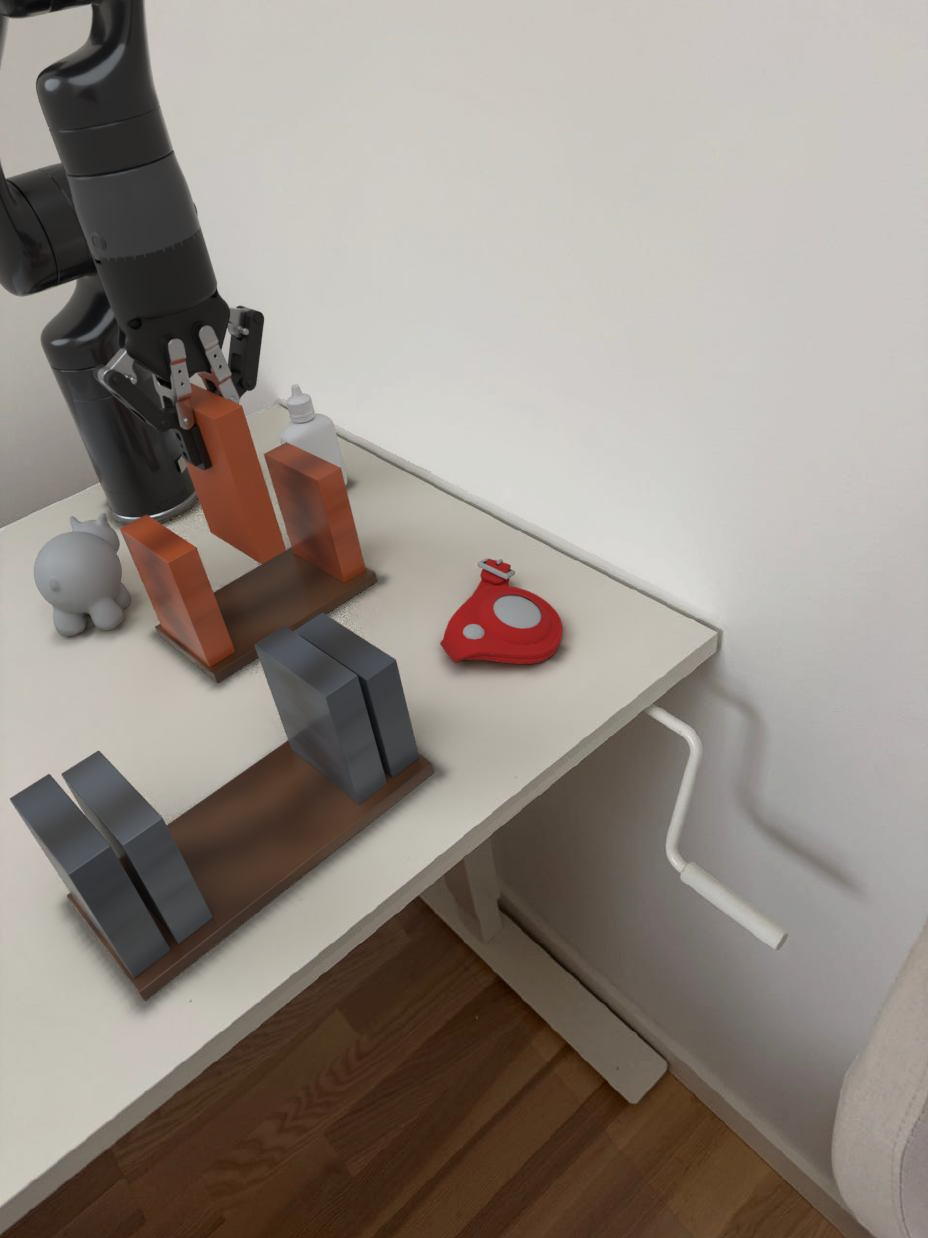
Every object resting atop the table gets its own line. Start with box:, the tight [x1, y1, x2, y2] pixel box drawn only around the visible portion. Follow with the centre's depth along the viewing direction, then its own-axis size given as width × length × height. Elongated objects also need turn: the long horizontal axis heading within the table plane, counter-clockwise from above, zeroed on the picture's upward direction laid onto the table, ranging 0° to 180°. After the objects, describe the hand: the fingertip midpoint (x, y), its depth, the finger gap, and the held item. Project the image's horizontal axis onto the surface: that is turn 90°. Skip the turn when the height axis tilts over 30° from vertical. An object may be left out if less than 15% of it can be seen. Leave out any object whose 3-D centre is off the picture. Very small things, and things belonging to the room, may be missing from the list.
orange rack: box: [119, 442, 378, 684], centre depth 81 cm, size 10×17×12 cm, turn 133°
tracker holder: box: [439, 557, 564, 665], centre depth 77 cm, size 12×4×10 cm
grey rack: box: [9, 613, 434, 1002], centre depth 61 cm, size 10×23×11 cm, turn 133°
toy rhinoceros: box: [33, 512, 132, 637], centre depth 86 cm, size 7×12×8 cm, turn 179°
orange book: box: [184, 382, 287, 565], centre depth 76 cm, size 8×2×13 cm, turn 43°
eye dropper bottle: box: [279, 383, 348, 487], centre depth 96 cm, size 4×6×12 cm
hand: (218, 456), depth 75 cm, fingers closed on orange book, 2 cm apart
